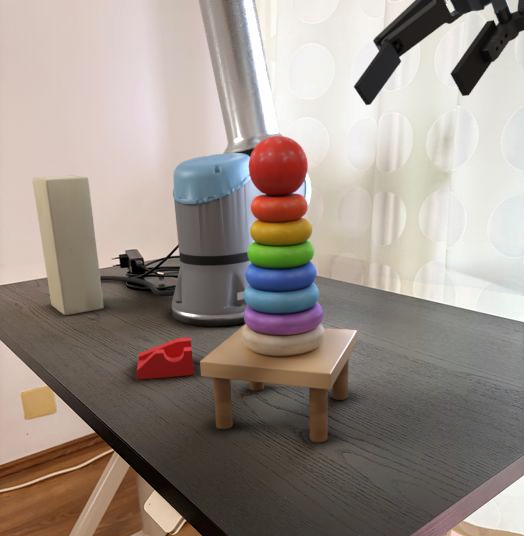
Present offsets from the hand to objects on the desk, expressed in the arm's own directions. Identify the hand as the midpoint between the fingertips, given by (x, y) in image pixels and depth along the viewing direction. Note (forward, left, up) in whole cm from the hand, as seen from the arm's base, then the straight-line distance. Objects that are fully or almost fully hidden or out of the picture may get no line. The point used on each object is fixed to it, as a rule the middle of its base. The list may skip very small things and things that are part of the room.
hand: (406, 91), depth 61 cm
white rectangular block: (-54, +12, -30) cm, 62 cm away
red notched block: (-26, -10, -30) cm, 41 cm away
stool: (-9, -17, -30) cm, 35 cm away
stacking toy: (-9, -17, -23) cm, 30 cm away
